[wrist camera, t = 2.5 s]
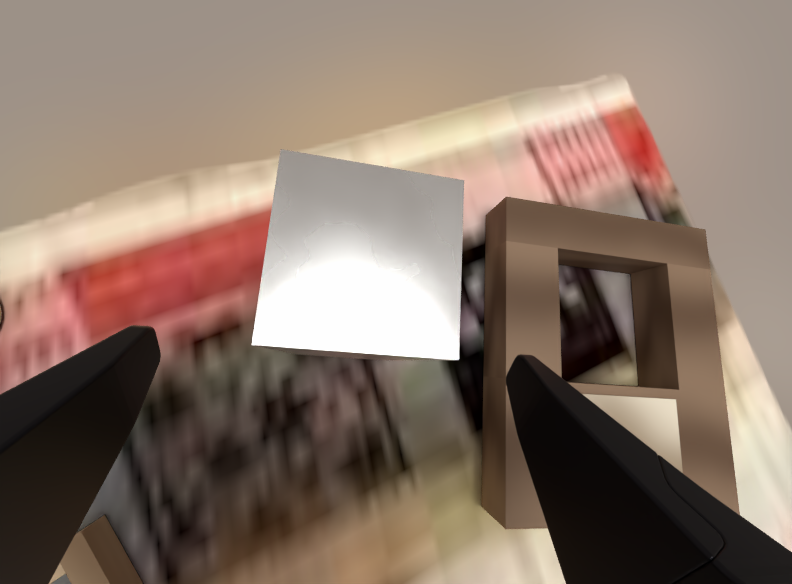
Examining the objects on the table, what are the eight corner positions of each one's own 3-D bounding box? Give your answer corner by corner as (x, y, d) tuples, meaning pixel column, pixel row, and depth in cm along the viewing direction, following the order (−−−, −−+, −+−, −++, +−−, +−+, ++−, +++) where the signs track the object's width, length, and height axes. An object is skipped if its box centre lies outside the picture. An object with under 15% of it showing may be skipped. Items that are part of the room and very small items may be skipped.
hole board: (691, 505, 20) (745, 526, 18) (481, 506, 18) (507, 531, 15) (666, 242, 24) (708, 228, 21) (485, 215, 21) (508, 194, 19)
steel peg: (381, 360, 18) (459, 360, 8) (295, 354, 18) (251, 344, 7) (387, 279, 19) (464, 180, 9) (306, 269, 19) (280, 149, 8)
